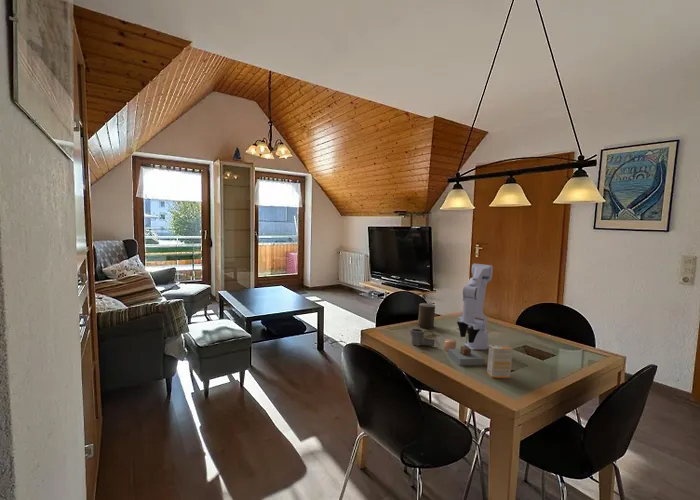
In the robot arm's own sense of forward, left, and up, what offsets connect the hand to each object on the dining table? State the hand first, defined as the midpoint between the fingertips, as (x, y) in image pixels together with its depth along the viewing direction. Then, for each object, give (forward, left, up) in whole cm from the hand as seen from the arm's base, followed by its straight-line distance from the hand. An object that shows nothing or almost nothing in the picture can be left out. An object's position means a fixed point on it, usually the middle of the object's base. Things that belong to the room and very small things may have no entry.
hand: (466, 339), depth 159 cm
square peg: (0, 0, -10) cm, 10 cm away
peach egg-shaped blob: (+2, -12, -10) cm, 16 cm away
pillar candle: (-1, -51, -10) cm, 52 cm away
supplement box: (-6, +17, -10) cm, 21 cm away
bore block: (0, 0, -10) cm, 10 cm away
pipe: (+14, -19, -10) cm, 26 cm away
